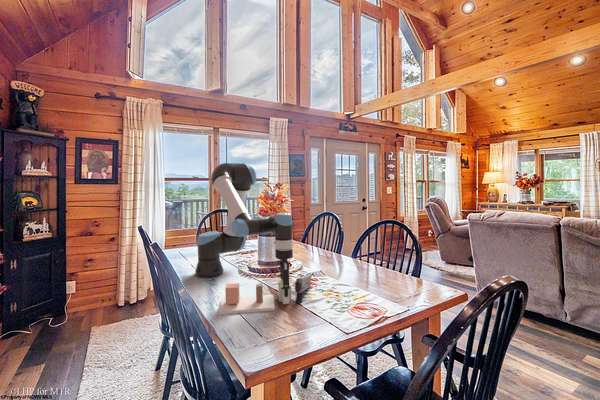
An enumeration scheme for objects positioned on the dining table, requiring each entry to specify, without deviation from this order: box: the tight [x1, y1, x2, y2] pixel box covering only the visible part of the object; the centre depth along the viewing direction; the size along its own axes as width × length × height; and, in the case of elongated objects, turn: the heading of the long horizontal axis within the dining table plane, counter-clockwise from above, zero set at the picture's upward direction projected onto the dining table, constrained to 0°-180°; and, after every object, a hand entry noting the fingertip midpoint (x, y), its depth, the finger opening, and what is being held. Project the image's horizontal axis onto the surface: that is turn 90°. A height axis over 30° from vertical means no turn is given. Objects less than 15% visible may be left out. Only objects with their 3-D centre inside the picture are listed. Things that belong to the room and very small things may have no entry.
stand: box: [218, 282, 276, 315], centre depth 126 cm, size 14×22×9 cm, turn 98°
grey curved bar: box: [294, 274, 312, 304], centre depth 136 cm, size 2×25×10 cm, turn 166°
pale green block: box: [277, 281, 292, 303], centre depth 132 cm, size 5×5×7 cm
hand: (285, 298), depth 132 cm, fingers open, 10 cm apart
